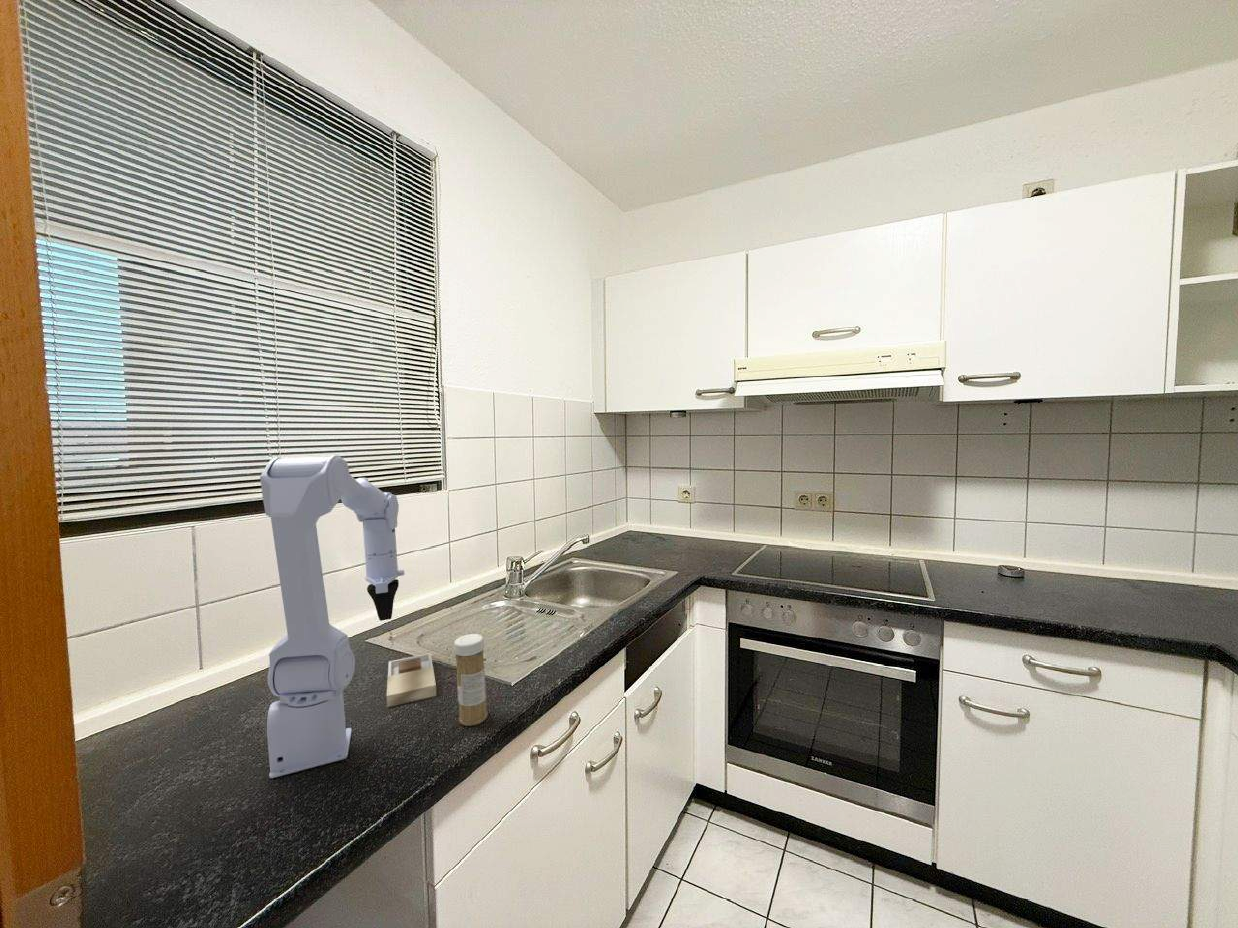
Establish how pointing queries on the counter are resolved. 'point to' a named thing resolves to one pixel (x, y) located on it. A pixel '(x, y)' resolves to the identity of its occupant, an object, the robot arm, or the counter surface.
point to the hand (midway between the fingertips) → (385, 618)
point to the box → (425, 659)
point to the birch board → (410, 686)
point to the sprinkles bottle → (471, 679)
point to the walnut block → (409, 665)
